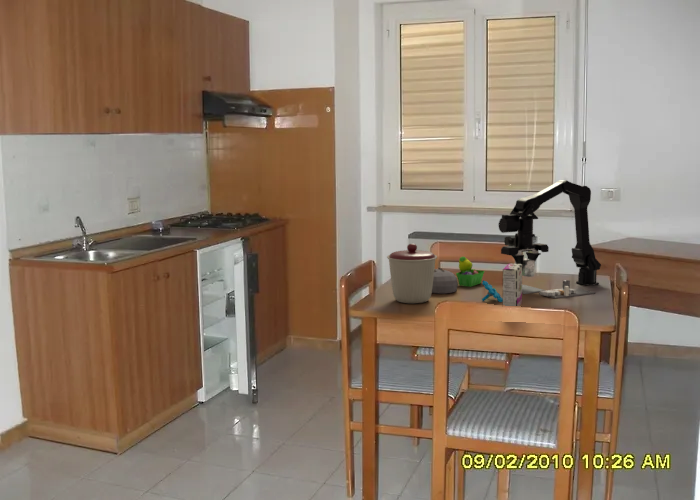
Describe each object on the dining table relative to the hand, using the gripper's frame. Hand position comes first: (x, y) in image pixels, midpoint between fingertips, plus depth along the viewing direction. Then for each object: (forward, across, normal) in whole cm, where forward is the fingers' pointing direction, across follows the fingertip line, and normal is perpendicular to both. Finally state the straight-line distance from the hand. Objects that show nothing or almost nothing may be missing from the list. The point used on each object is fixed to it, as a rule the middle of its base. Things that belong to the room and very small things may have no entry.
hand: (524, 271), depth 281 cm
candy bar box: (+7, +30, +32) cm, 45 cm away
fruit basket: (+8, +12, -20) cm, 25 cm away
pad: (+7, 0, 0) cm, 7 cm away
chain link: (+1, 0, 0) cm, 1 cm away
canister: (+7, +48, -3) cm, 49 cm away
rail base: (+7, -9, +14) cm, 18 cm away
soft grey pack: (+8, +29, -16) cm, 34 cm away
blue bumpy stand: (+8, +23, +11) cm, 27 cm away
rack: (+7, -4, +15) cm, 17 cm away
